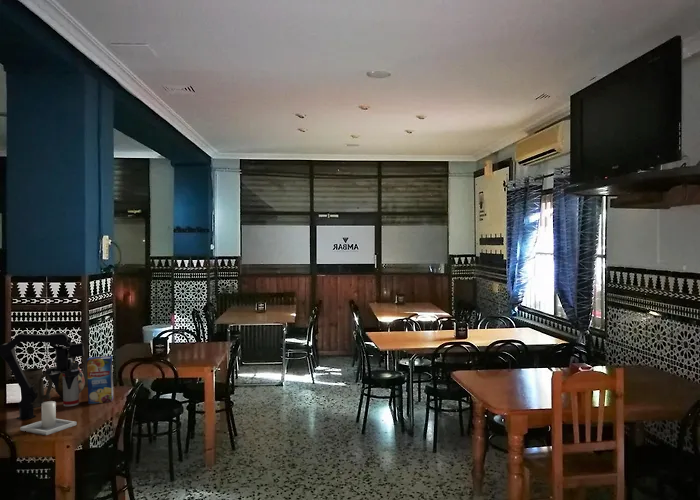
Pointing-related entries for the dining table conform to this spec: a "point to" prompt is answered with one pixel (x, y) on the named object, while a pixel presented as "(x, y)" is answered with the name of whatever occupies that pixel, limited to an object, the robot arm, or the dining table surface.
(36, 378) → the beer stein
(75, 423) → the tray
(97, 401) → the juice carton
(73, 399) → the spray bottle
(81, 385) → the ceramic jug
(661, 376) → the dining table surface
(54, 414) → the grey rounded cylinder
